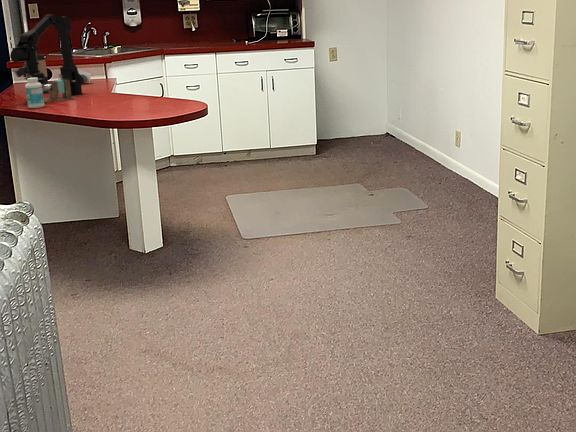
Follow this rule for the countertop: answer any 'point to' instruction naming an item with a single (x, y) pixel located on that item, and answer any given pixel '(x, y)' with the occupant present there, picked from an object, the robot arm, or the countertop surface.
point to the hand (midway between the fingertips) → (35, 92)
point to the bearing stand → (54, 92)
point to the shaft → (47, 87)
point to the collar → (60, 86)
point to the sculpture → (85, 75)
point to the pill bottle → (34, 93)
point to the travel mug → (43, 69)
